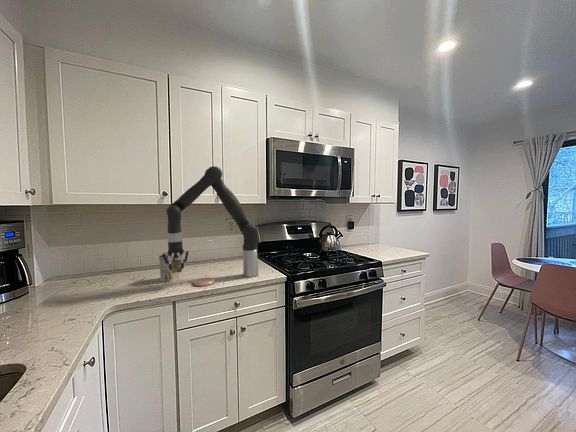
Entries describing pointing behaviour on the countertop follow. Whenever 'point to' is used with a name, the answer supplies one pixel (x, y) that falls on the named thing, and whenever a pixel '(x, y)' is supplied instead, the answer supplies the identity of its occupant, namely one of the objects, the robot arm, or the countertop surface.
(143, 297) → the countertop surface
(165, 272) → the coffee box
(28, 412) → the countertop surface
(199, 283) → the dish
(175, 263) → the walnut block
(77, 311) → the countertop surface
